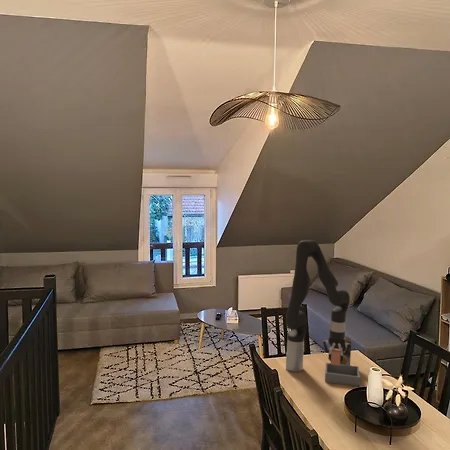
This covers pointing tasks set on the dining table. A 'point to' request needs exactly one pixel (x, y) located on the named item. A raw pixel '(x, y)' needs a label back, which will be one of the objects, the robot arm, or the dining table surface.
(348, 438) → the dining table surface
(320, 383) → the dining table surface
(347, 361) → the coffee box
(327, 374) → the tote
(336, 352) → the juice box
